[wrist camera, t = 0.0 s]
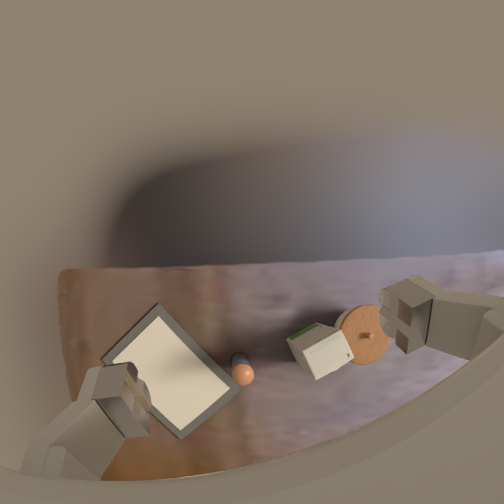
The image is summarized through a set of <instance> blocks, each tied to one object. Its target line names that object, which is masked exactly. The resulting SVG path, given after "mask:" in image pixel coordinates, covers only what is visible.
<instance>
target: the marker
mask: <svg viewBox="0 0 504 504" xmlns="http://www.w3.org/2000/svg"><path fill="white" fill-rule="evenodd" d="M231 363H232V378H233V380H234V382H235V383H237V384H239V385H247V384H249V383H250V382H251V381H252V380H253V378H254V372H253V369H252V368H251V366H250V363H249V360H248V358H247V356H246V355H245V354H244V353H241V352H238V353H235V354H234V355H233V356H232V359H231Z"/></svg>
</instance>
